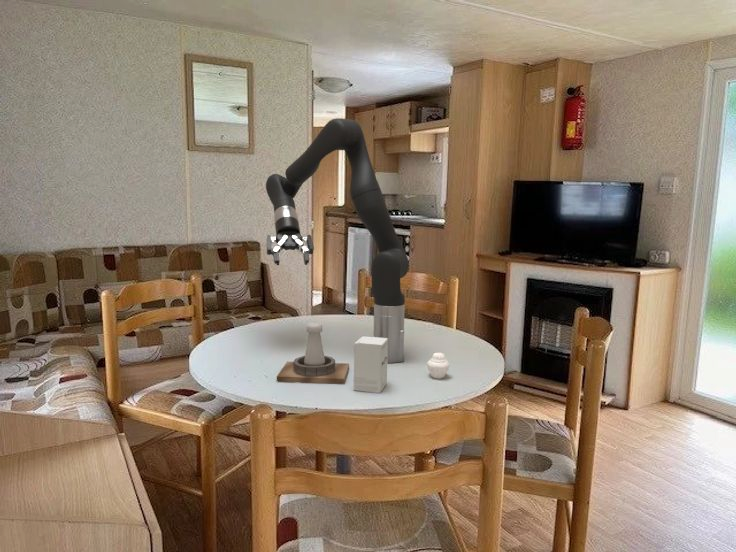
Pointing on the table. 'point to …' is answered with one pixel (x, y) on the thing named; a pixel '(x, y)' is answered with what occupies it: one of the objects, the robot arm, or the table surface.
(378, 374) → the supplement box
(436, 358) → the muffin
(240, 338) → the table surface
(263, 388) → the table surface
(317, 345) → the salt shaker
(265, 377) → the table surface
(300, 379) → the socket base
